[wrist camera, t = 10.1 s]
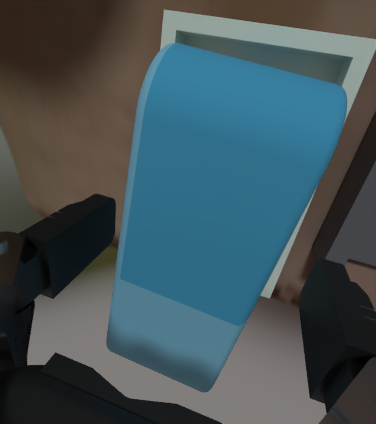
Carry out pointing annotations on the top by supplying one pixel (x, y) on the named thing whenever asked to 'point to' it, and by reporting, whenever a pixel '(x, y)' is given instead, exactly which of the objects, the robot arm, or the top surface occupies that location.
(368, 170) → the bay
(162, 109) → the blue flat block
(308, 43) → the tray
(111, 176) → the top surface
